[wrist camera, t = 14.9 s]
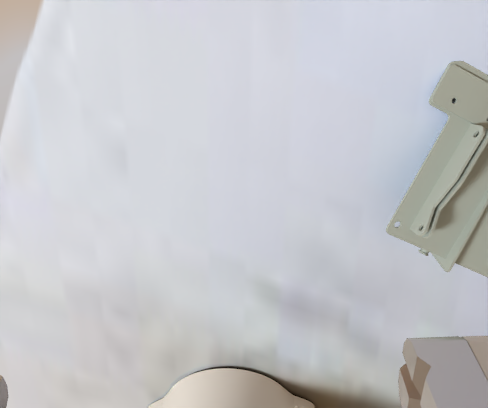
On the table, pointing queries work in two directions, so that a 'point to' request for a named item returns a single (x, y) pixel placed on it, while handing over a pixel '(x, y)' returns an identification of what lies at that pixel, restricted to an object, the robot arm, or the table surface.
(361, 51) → the table surface
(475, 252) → the metal bracket
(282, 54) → the table surface
